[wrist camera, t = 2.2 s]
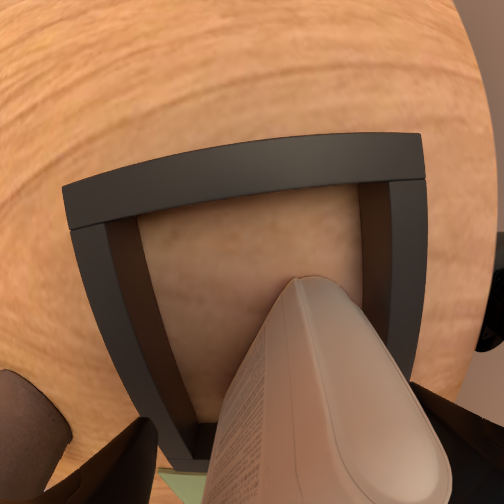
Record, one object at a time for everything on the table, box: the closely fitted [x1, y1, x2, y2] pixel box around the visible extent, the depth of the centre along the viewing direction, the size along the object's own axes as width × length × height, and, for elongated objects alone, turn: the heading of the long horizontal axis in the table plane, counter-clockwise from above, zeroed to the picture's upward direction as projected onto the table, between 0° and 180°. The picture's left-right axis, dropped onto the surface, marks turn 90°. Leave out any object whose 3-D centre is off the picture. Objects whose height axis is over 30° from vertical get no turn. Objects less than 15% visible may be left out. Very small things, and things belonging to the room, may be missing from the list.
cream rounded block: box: [201, 276, 452, 504], centre depth 8 cm, size 10×4×12 cm, turn 157°
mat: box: [157, 468, 207, 504], centre depth 19 cm, size 18×14×1 cm
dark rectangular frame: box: [62, 132, 428, 473], centre depth 12 cm, size 14×18×3 cm
